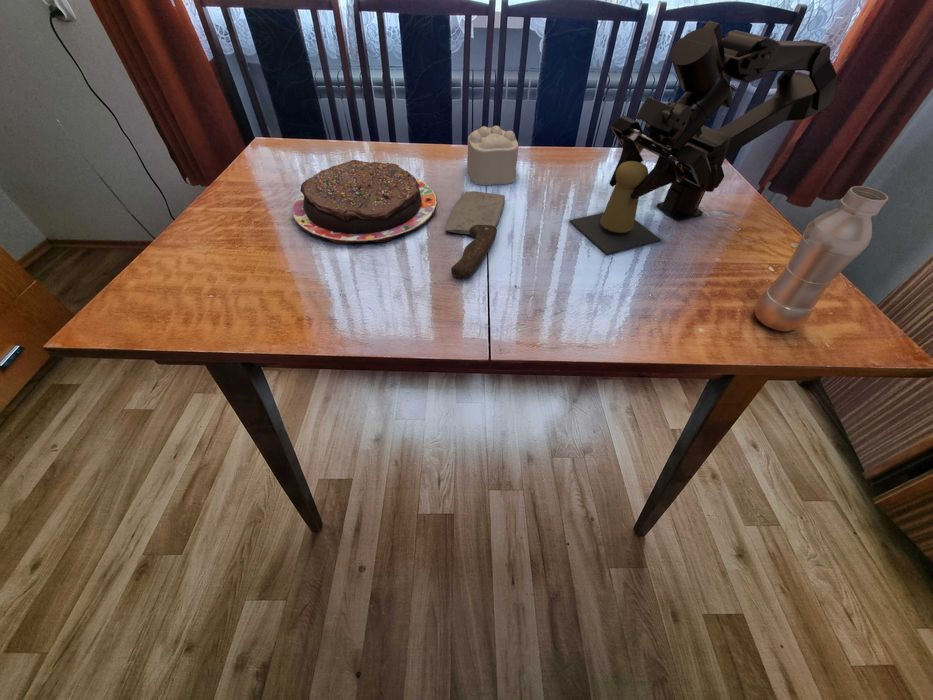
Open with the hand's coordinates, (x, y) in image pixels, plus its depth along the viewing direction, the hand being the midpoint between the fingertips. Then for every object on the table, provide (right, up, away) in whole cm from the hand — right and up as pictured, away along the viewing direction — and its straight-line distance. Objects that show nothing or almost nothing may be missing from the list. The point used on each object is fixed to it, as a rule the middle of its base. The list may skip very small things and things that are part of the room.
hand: (620, 191), depth 72 cm
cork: (+1, -4, +5) cm, 7 cm away
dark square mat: (+1, -5, +6) cm, 8 cm away
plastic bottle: (+19, -23, -10) cm, 32 cm away
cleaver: (-26, -6, +6) cm, 27 cm away
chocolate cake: (-47, +1, +11) cm, 48 cm away
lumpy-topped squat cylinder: (-21, +13, +23) cm, 34 cm away
